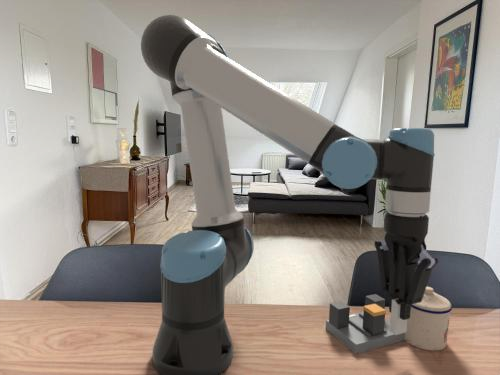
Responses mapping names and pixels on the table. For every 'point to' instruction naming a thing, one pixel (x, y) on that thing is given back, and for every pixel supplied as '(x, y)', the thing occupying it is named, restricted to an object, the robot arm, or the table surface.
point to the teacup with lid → (429, 322)
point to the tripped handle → (374, 319)
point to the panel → (358, 327)
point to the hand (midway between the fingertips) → (398, 331)
